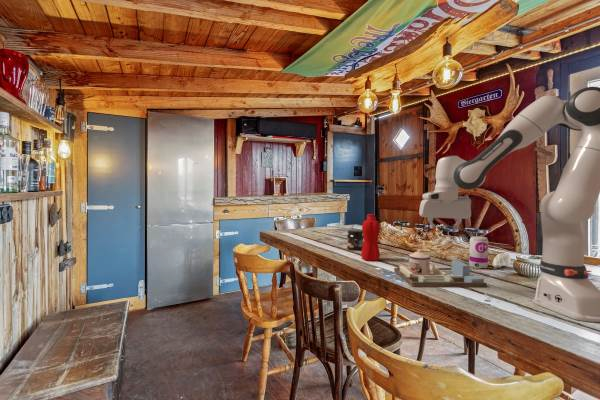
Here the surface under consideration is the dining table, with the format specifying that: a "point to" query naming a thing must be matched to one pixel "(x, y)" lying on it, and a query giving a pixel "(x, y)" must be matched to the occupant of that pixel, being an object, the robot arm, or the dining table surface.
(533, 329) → the dining table surface
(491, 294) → the dining table surface
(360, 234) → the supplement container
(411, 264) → the teacup with lid
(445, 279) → the broken carriage
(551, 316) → the dining table surface
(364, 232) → the water bottle
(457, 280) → the lane rails
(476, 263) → the supplement can
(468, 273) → the carriage
